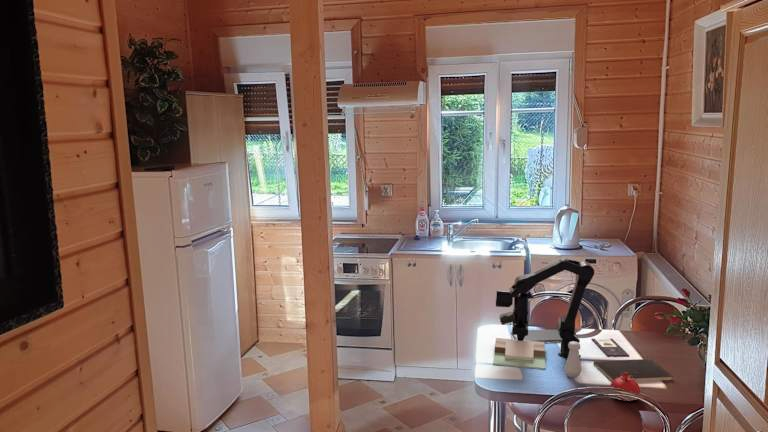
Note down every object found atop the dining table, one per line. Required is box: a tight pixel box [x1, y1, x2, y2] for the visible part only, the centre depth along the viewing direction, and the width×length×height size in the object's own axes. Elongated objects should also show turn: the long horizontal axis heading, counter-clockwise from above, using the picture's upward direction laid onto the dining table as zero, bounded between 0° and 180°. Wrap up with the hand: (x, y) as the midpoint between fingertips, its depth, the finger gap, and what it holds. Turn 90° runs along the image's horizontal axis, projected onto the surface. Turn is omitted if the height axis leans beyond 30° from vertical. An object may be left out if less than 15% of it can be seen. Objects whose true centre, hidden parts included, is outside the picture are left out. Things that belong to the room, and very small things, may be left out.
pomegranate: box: [609, 372, 642, 394], centre depth 204 cm, size 10×10×9 cm
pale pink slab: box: [505, 339, 534, 361], centre depth 239 cm, size 11×8×2 cm
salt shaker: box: [564, 341, 582, 379], centre depth 222 cm, size 6×6×13 cm
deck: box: [494, 337, 546, 358], centre depth 245 cm, size 10×20×3 cm, turn 77°
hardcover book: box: [593, 358, 673, 382], centre depth 225 cm, size 16×23×2 cm
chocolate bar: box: [591, 338, 630, 358], centre depth 249 cm, size 9×1×18 cm
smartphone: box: [510, 328, 581, 343], centre depth 261 cm, size 13×27×2 cm, turn 94°
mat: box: [492, 352, 546, 370], centre depth 236 cm, size 12×20×1 cm, turn 77°
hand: (519, 343), depth 243 cm, fingers closed
